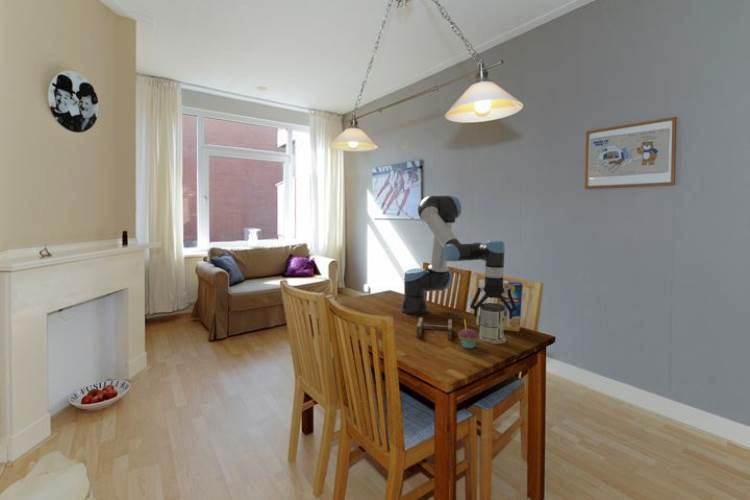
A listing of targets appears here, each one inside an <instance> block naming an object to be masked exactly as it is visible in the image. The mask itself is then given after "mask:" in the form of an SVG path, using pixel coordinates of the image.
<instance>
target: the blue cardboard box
mask: <svg viewBox="0 0 750 500" xmlns="http://www.w3.org/2000/svg"><path fill="white" fill-rule="evenodd" d="M503 288H504V289H507V288H510V290H511V296H512V298H513V301H514V303H515V306H516V308H517V310H516V311H513V312H512V319H509V327H507V326H506V317H507V311H509V310H508V309H507V307H506V306H505V304H504V303H503V302H502V300H501V299H500V298H499V297H498V298H496V304H500V305H503V306H504V307H505V309H504V331H512V332H519V331H520V332H521V317H522V315H521V314H522V292H523V282H521V281H519V282H518V281H504V280H503ZM501 295H502V296H503V298H504V299H505V301H506V302H507V303H508V305H509V306H510V307H511V308H512V305H511V302H510V300H509V297H508V294H506V292H505V291H504V292H503V293H502V294H501Z"/></svg>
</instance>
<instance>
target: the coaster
mask: <svg viewBox="0 0 750 500" xmlns="http://www.w3.org/2000/svg"><path fill="white" fill-rule="evenodd" d="M479 335H480V333H479ZM478 341H480V342H483V343H485V344H491V345H502V344H505V343H507V337H506V336H505V335H503V340H501V341H488V340H484V339H482V338H480V339H479V340H478Z"/></svg>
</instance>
